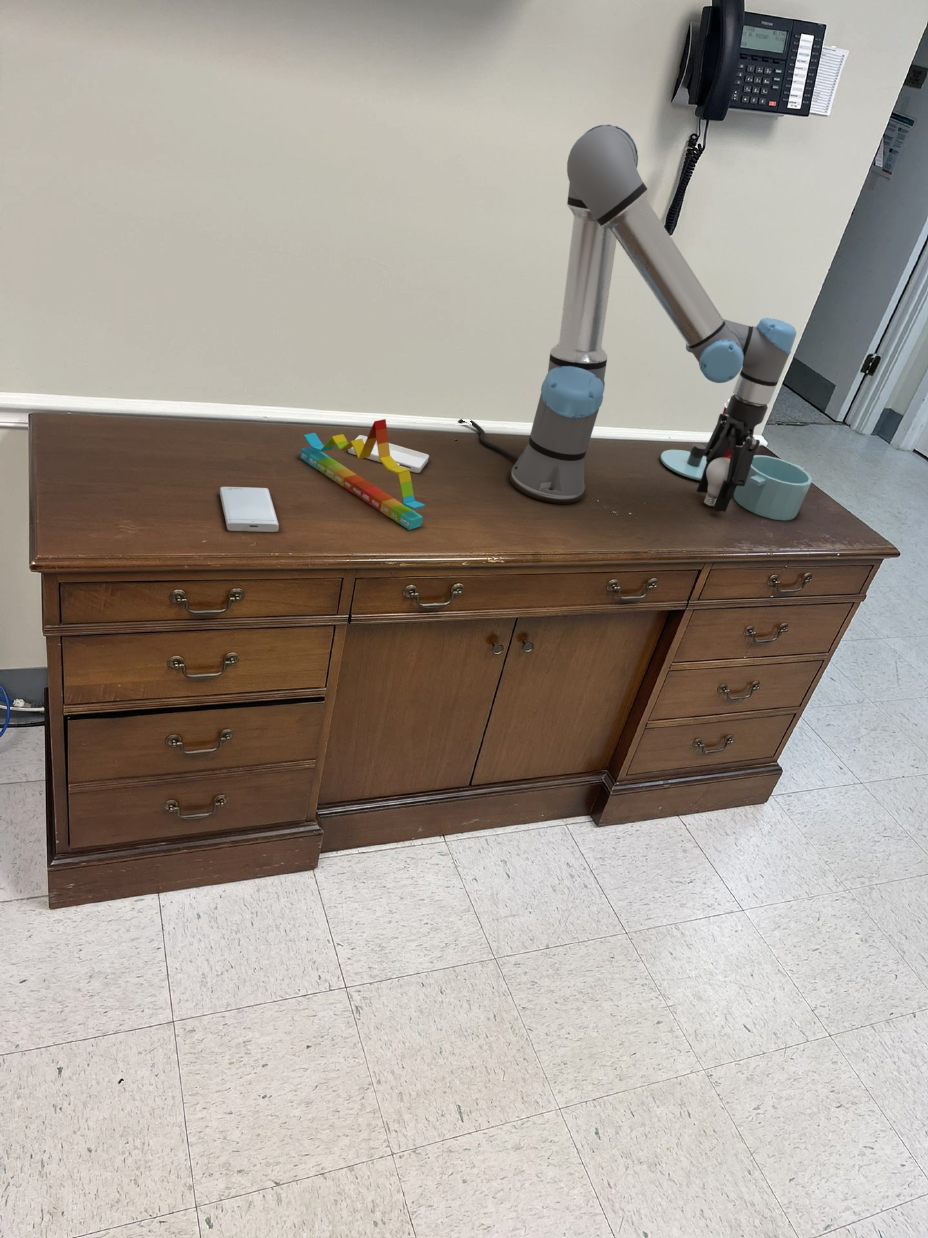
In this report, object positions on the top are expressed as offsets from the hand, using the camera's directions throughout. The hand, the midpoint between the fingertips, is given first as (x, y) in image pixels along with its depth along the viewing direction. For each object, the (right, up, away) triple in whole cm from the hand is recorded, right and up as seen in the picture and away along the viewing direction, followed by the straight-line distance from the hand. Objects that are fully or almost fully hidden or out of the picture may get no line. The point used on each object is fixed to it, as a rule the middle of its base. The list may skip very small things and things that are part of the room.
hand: (710, 500), depth 195 cm
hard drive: (-89, -8, -42) cm, 98 cm away
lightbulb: (0, -1, +1) cm, 1 cm away
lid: (0, +10, +16) cm, 19 cm away
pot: (+14, 0, +8) cm, 16 cm away
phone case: (-68, +7, -12) cm, 69 cm away
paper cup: (+9, +13, +26) cm, 31 cm away
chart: (-72, -2, -27) cm, 77 cm away
